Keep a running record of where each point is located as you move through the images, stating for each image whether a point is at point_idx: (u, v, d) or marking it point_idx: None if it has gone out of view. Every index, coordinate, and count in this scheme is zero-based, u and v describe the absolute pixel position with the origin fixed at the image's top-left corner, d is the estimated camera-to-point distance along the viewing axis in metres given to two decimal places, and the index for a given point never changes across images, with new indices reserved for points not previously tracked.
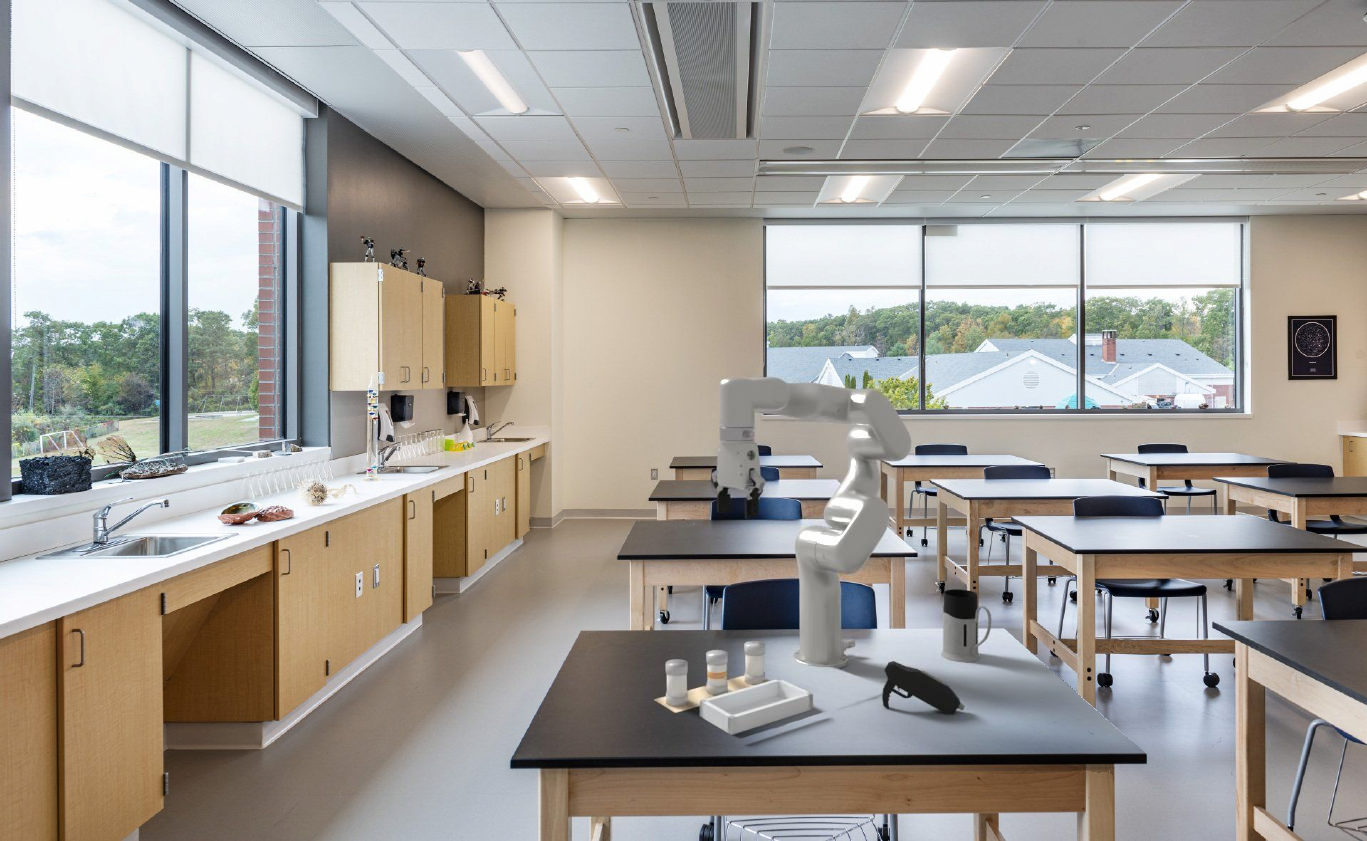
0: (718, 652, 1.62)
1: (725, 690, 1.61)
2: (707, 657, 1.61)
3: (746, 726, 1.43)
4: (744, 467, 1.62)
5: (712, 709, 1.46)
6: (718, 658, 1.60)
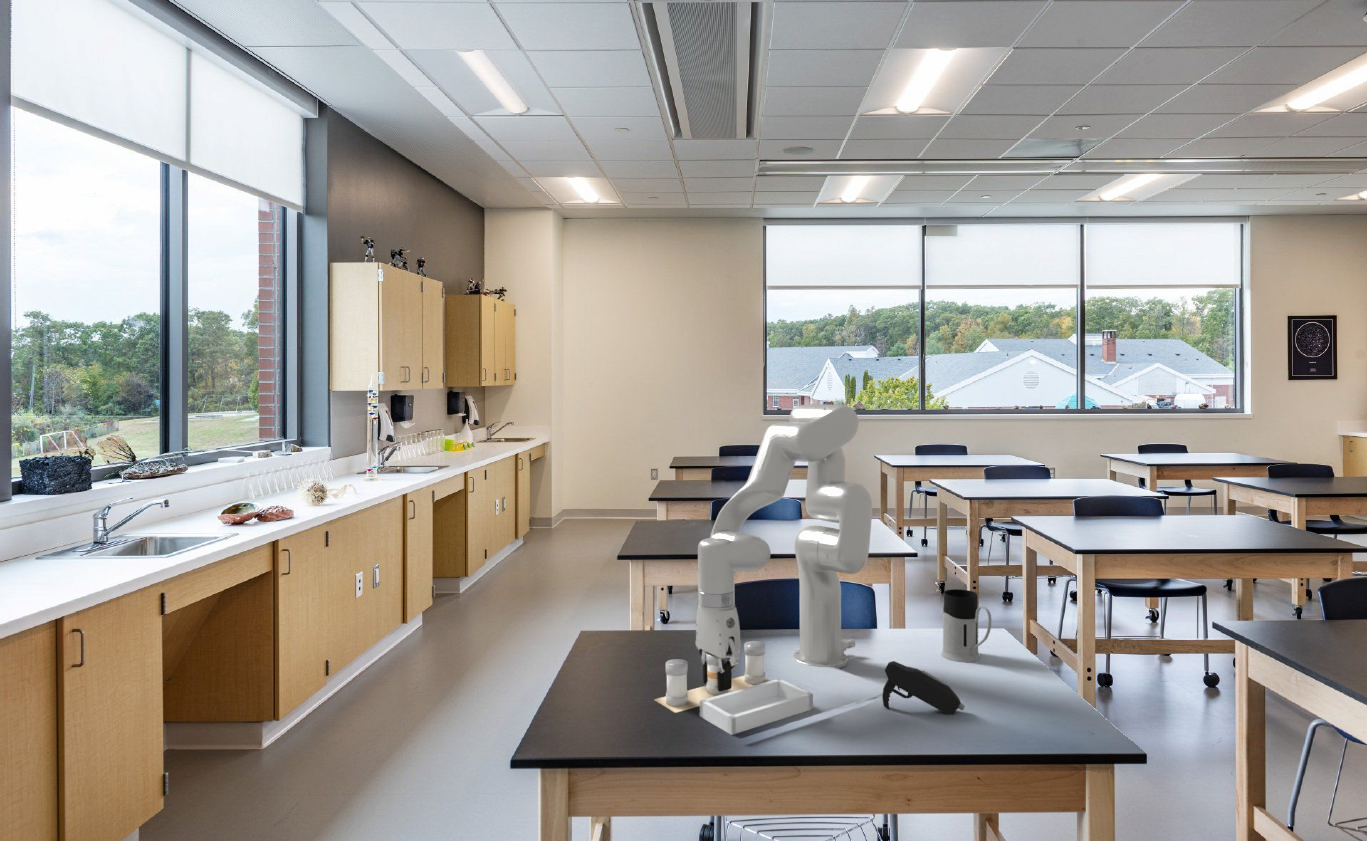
0: None
1: (725, 690, 1.61)
2: (707, 657, 1.61)
3: (746, 726, 1.43)
4: (723, 636, 1.57)
5: (712, 709, 1.46)
6: None
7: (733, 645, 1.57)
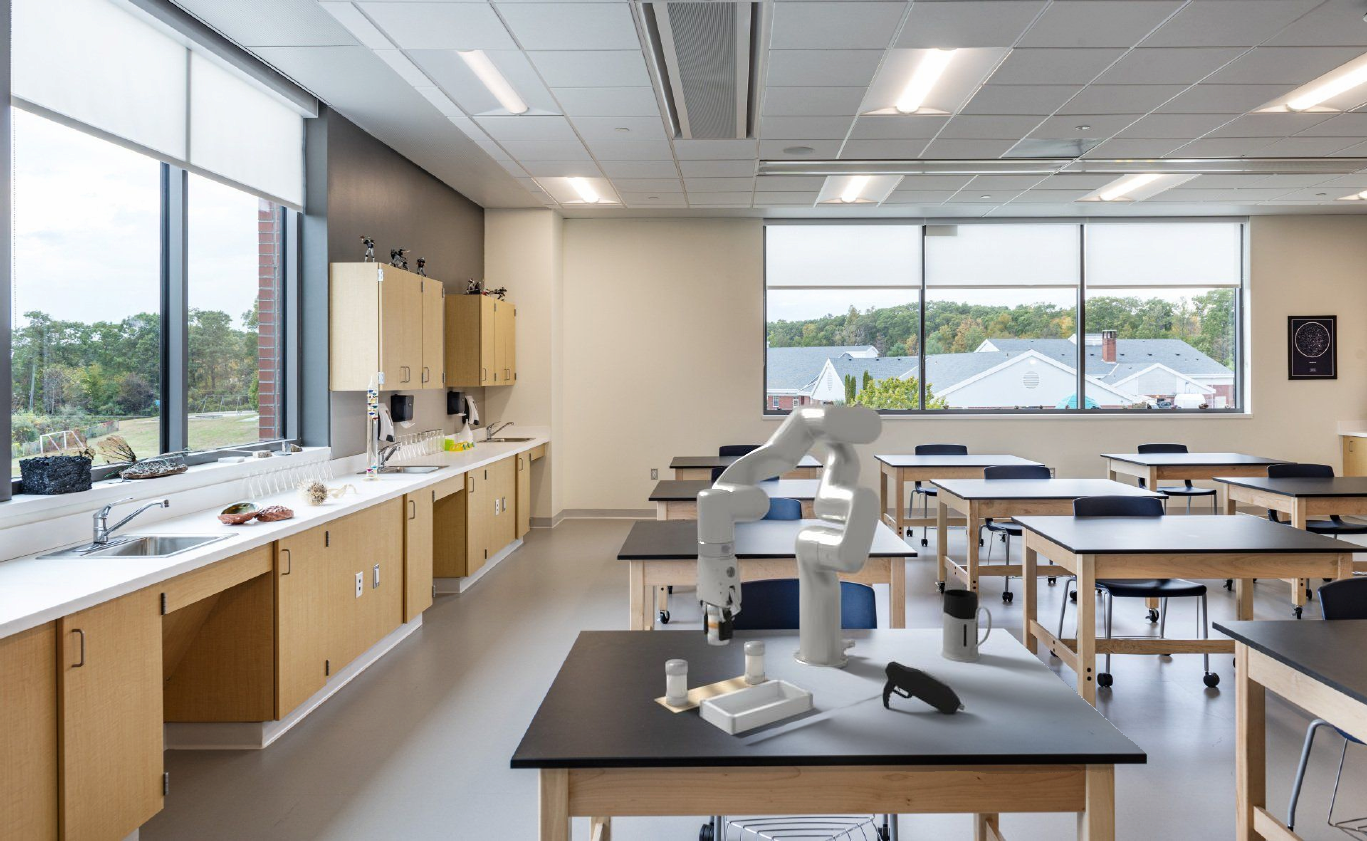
0: None
1: (726, 640, 1.61)
2: (708, 607, 1.61)
3: (746, 726, 1.43)
4: (724, 585, 1.56)
5: (712, 709, 1.46)
6: None
7: (734, 594, 1.57)
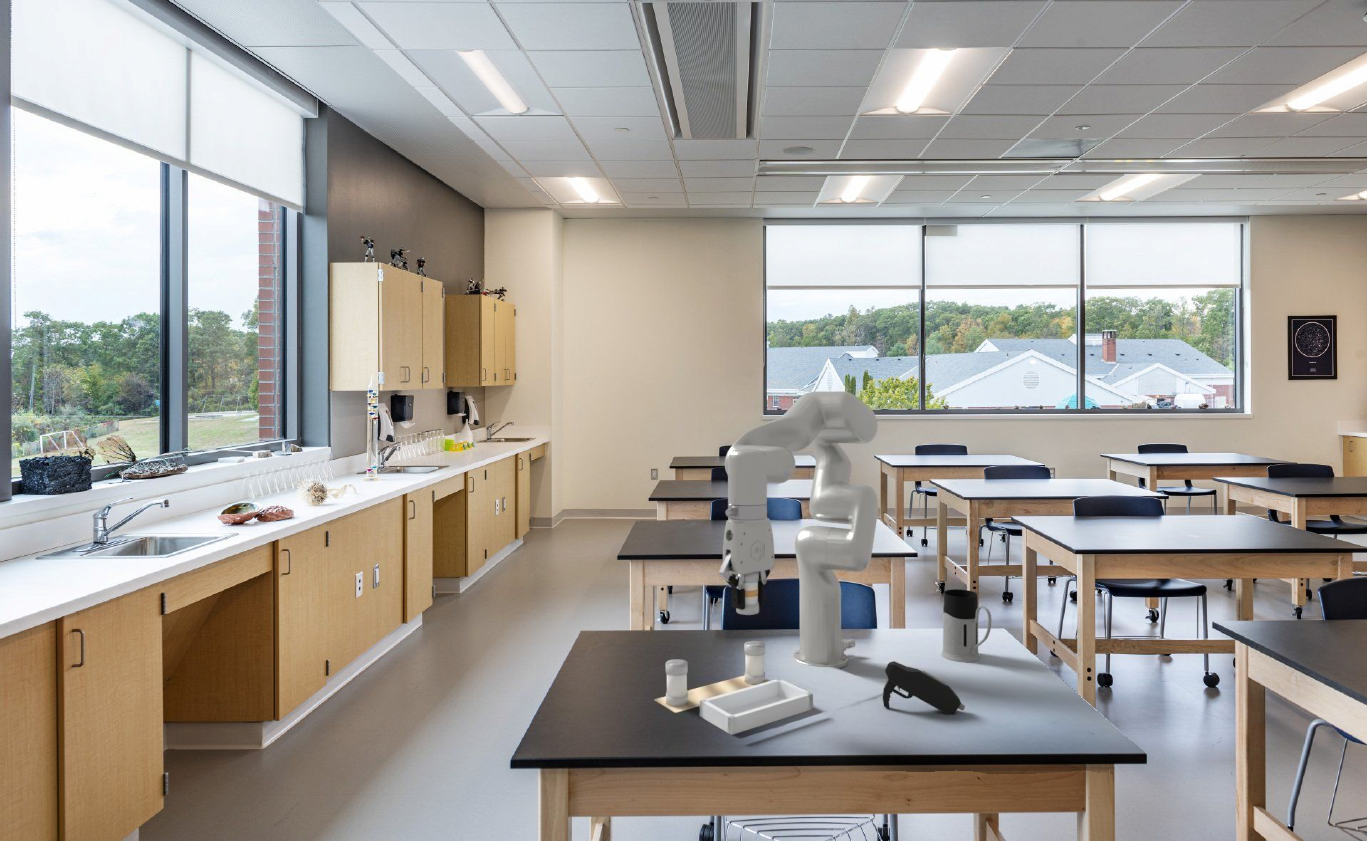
0: None
1: (741, 610, 1.51)
2: None
3: (746, 726, 1.43)
4: (723, 546, 1.50)
5: (712, 709, 1.46)
6: None
7: (728, 559, 1.49)
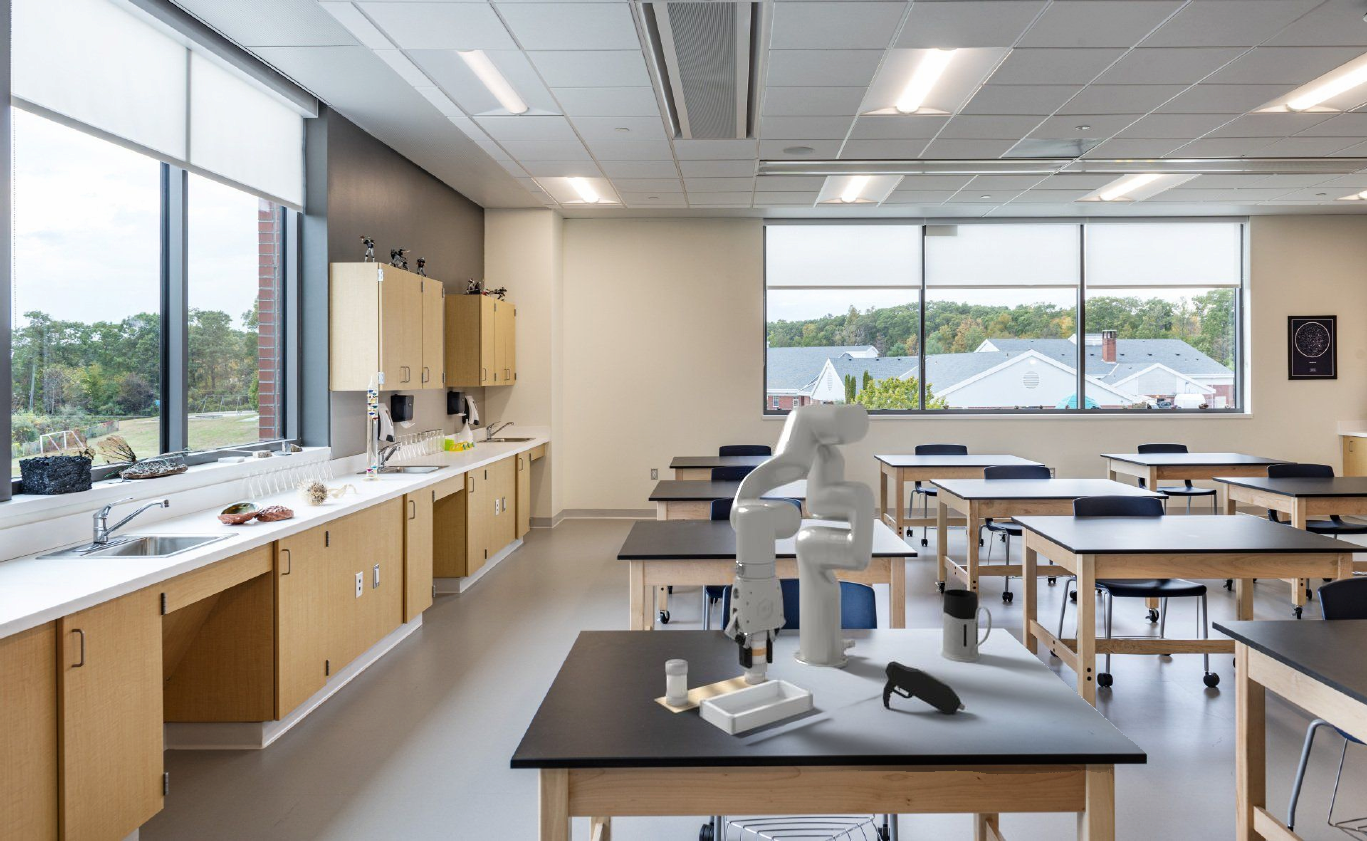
0: None
1: (749, 669, 1.49)
2: None
3: (746, 726, 1.43)
4: (730, 604, 1.49)
5: (712, 709, 1.46)
6: None
7: (734, 617, 1.47)
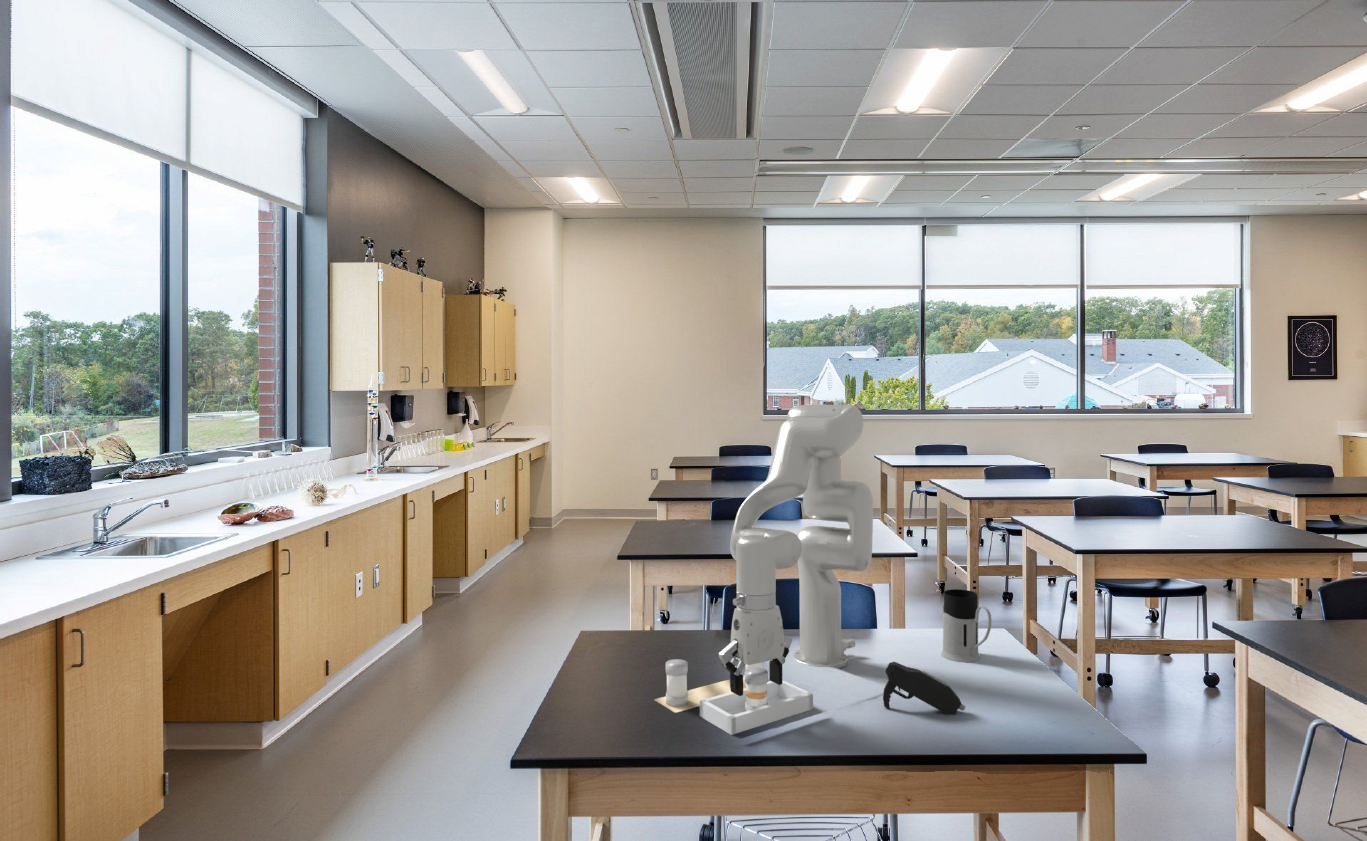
0: (759, 672, 1.51)
1: None
2: None
3: (746, 726, 1.43)
4: (731, 635, 1.50)
5: (712, 709, 1.46)
6: (745, 673, 1.51)
7: (733, 644, 1.47)
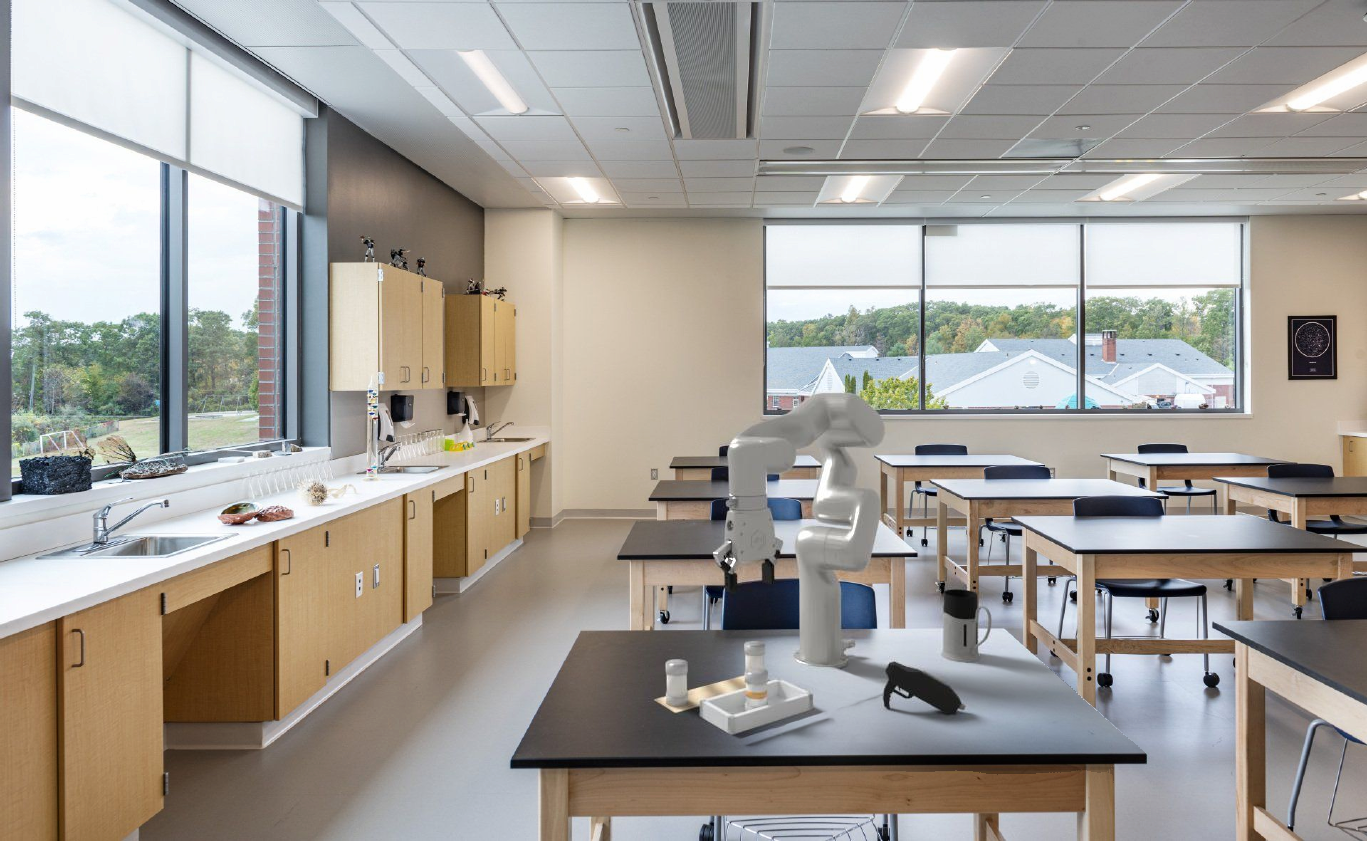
0: (759, 672, 1.51)
1: None
2: None
3: (746, 726, 1.43)
4: None
5: (712, 709, 1.46)
6: (745, 673, 1.51)
7: (726, 544, 1.52)
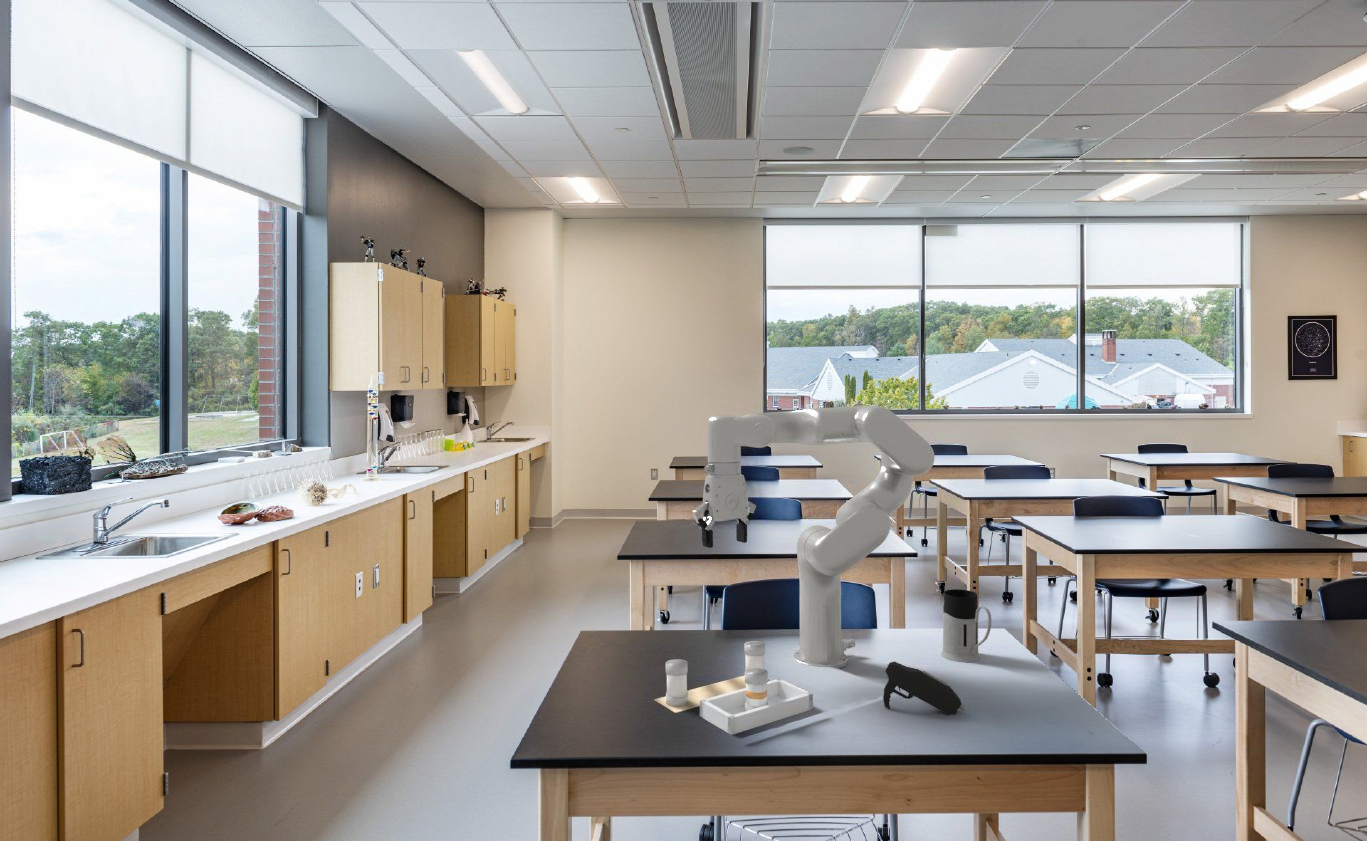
0: (759, 672, 1.51)
1: None
2: None
3: (746, 726, 1.43)
4: (703, 498, 1.77)
5: (712, 709, 1.46)
6: (745, 673, 1.51)
7: (704, 504, 1.75)
